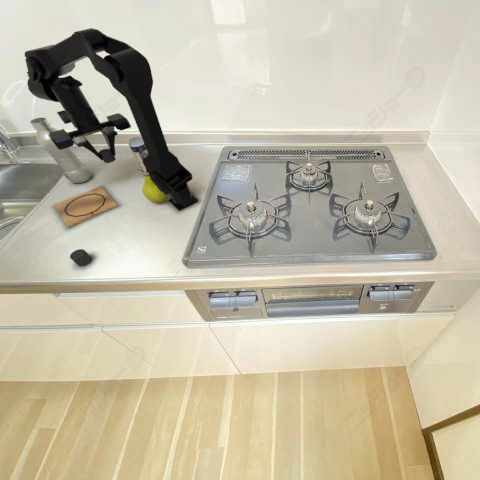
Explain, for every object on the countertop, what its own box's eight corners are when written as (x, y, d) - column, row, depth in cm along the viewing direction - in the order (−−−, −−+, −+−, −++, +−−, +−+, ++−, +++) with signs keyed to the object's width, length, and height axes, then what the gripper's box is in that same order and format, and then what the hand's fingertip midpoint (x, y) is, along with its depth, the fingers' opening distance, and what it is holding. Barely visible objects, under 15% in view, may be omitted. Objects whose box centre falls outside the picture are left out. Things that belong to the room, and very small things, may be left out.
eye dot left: (94, 261, 70) (87, 253, 68) (80, 268, 68) (72, 261, 66) (89, 254, 71) (82, 247, 69) (75, 261, 70) (67, 254, 67)
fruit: (166, 190, 90) (150, 157, 81) (177, 199, 87) (161, 166, 78) (145, 200, 86) (126, 166, 77) (155, 210, 83) (136, 176, 74)
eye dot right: (117, 160, 85) (112, 151, 83) (106, 164, 84) (100, 155, 81) (113, 156, 87) (108, 147, 85) (102, 160, 85) (96, 151, 83)
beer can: (155, 176, 94) (139, 144, 86) (141, 176, 94) (124, 143, 86) (161, 168, 98) (146, 136, 89) (147, 168, 98) (131, 136, 89)
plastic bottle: (96, 179, 93) (56, 119, 78) (74, 188, 89) (27, 128, 74) (89, 171, 96) (48, 113, 81) (67, 180, 92) (20, 120, 77)
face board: (117, 206, 84) (116, 204, 83) (69, 227, 77) (67, 226, 77) (101, 187, 90) (100, 185, 89) (55, 206, 83) (53, 204, 83)
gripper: (102, 87, 81) (129, 137, 93) (25, 105, 72) (65, 159, 84) (117, 97, 76) (143, 149, 88) (35, 119, 67) (77, 174, 78)
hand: (108, 157), depth 84 cm, fingers closed on eye dot right, 3 cm apart
